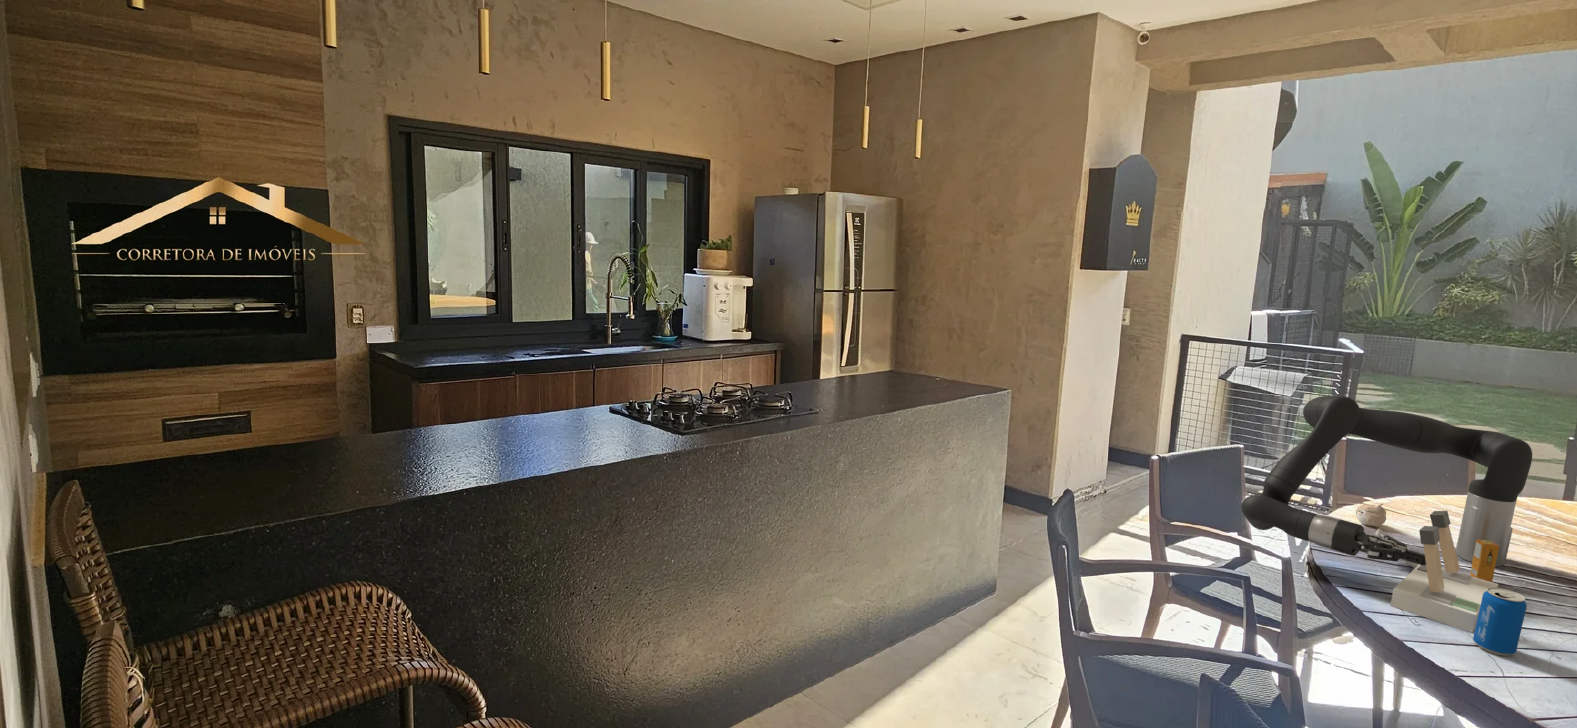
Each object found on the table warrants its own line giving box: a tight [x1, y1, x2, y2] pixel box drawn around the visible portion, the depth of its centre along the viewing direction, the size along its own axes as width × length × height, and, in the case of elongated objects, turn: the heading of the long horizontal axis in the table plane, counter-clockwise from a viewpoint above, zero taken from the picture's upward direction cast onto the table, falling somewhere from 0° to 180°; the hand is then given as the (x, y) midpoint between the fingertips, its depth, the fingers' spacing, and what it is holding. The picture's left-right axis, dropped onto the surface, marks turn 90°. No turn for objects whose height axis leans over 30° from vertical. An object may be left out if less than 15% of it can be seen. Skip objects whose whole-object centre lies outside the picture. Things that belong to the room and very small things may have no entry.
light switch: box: [1374, 528, 1419, 569], centre depth 193 cm, size 8×5×13 cm
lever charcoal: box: [1429, 510, 1461, 573], centre depth 178 cm, size 2×4×14 cm, turn 128°
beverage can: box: [1472, 587, 1528, 657], centre depth 154 cm, size 6×6×12 cm
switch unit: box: [1390, 565, 1499, 633], centre depth 173 cm, size 14×24×4 cm, turn 129°
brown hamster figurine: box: [1355, 502, 1387, 528], centre depth 219 cm, size 7×6×8 cm
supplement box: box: [1469, 539, 1499, 582], centre depth 185 cm, size 3×3×10 cm
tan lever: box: [1418, 525, 1444, 592], centre depth 168 cm, size 2×4×14 cm, turn 129°
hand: (1427, 560), depth 169 cm, fingers closed
